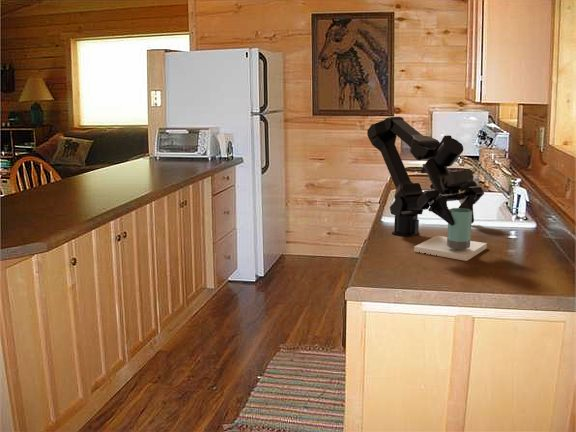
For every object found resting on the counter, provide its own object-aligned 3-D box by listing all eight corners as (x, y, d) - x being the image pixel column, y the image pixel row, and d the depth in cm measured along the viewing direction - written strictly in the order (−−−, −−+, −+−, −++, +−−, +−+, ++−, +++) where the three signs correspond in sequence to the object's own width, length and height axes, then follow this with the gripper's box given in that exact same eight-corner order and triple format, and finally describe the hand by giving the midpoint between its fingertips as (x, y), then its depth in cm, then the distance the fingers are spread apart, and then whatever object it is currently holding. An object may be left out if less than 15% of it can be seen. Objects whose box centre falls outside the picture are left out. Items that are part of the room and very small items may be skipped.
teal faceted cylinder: (444, 246, 167) (446, 210, 165) (453, 242, 171) (455, 207, 169) (463, 250, 163) (465, 213, 161) (472, 245, 168) (474, 209, 165)
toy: (477, 227, 199) (480, 181, 196) (456, 226, 200) (458, 180, 197) (474, 221, 207) (477, 177, 204) (454, 220, 208) (457, 176, 205)
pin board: (414, 251, 171) (414, 234, 170) (436, 240, 183) (437, 224, 182) (466, 260, 162) (467, 242, 161) (486, 248, 174) (487, 231, 173)
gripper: (424, 160, 162) (448, 210, 155) (482, 157, 169) (507, 204, 162) (407, 185, 171) (428, 233, 164) (462, 181, 178) (485, 226, 170)
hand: (462, 223), depth 165 cm, fingers closed on teal faceted cylinder, 6 cm apart
